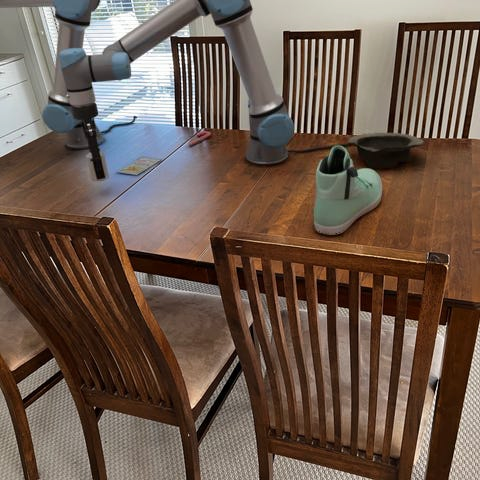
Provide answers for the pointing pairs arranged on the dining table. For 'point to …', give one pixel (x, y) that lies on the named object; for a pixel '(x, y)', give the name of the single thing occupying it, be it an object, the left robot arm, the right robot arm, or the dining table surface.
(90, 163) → the canister
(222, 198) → the dining table surface
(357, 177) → the sneaker
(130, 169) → the baking ingredient package
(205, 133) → the candy cane
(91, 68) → the right robot arm
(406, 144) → the stone bowl
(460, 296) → the dining table surface
